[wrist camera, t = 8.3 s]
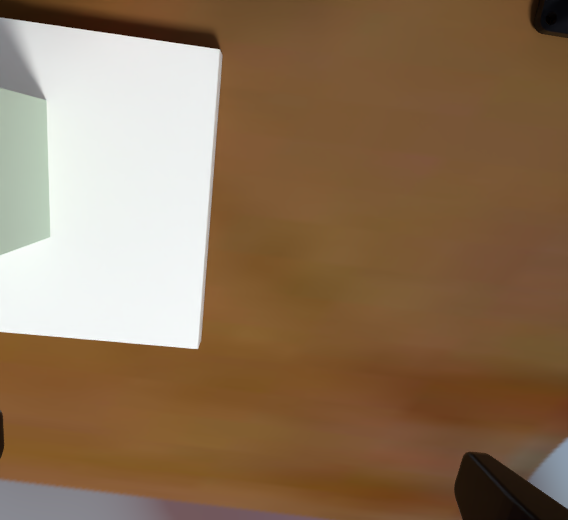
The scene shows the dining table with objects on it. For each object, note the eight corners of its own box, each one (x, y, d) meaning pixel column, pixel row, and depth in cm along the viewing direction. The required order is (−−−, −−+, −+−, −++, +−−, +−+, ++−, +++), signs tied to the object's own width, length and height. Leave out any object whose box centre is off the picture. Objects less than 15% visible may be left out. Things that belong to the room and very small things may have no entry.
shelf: (222, 55, 17) (213, 34, 15) (200, 339, 21) (190, 369, 18) (-89, 10, 16) (-165, -22, 14) (-57, 317, 20) (-113, 344, 17)
